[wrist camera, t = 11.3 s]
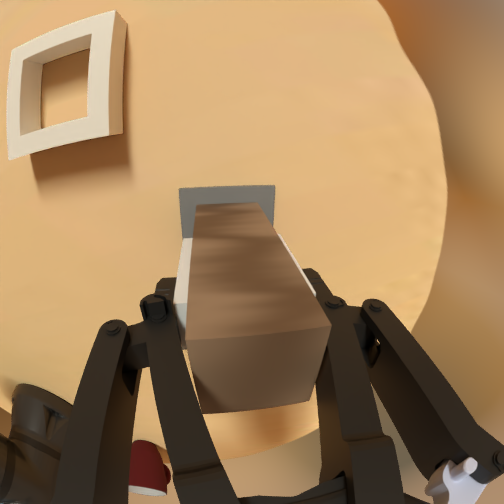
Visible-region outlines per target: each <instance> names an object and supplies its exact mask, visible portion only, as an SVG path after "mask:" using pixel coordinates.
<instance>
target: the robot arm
mask: <svg viewBox="0 0 504 504" xmlns="http://www.w3.org/2000/svg"><path fill="white" fill-rule="evenodd" d="M278 236H279V237H280V239H281V241H282V242H283V244H284V246H285V247H286V249H287V251H288V252H289V254H290V255H291V257H292V259H293V260H294V262H295V264H296V265H297V267H298V269H299V270H300V272H301V274H302V275H303V277H304V279H305V280H306V282H307V284H308V285H309V287H310V289H311V290H312V292H313V294H314V296H315V297H316V299H317V301H318V302H319V304H320V306H321V308H322V309H323V311H324V313H325V314H326V316H327V318H328V320H329V321H330V323H331V325H332V326H331V330H330V334H329V338H328V341H327V345H326V348H325V352H324V355H323V359H322V362H321V366H320V369H319V372H318V375H317V379H316V382H315V385H316V395H317V405H318V417H319V429H320V443H321V458H322V468H321V472H320V478H319V485H317V486H315V487H314V488H311V489H310V490H307V491H305V492H303V493H301V494H300V495H297V496H294V497H277V496H276V497H275V496H252V497H243V498H237V496H236V494H235V492H234V490H233V487H232V485H231V483H230V481H229V479H228V476H227V474H226V472H225V470H224V468H223V465H222V464H221V462H220V459H219V457H218V455H217V452H216V450H215V447H214V444H213V442H212V439H211V437H210V434H209V431H208V429H207V426H206V423H205V420H204V418H203V415H202V412H201V409H200V406H199V403H198V400H197V397H196V394H195V391H194V388H193V385H192V381H191V378H190V375H189V372H188V368H187V365H186V361H185V358H184V354H183V351H182V350H184V349H187V346H186V341H185V334H186V314H187V298H188V284H189V271H190V260H191V249H192V239H193V238H184V239H183V243H182V249H181V255H180V261H179V267H178V273H177V277H174V278H162V279H161V280H160V281H159V282H158V283H157V285H156V289H155V290H156V291H155V293H154V294H150V295H148V296H146V297H144V298H143V299H142V300H141V301H140V308H141V312H142V316H143V319H144V321H142V322H140V323H138V324H135V325H131V326H127V325H126V323H125V322H124V321H122V320H117V319H116V320H110V321H108V322H106V323H104V324H103V325H102V326H101V328H100V329H99V332H98V334H97V337H96V339H95V342H94V344H93V347H92V350H91V352H90V355H89V358H88V361H87V364H86V366H85V369H84V372H83V375H82V378H81V381H80V384H79V388H78V391H77V394H76V397H75V401H74V404H73V406H71V405H70V404H68V403H67V402H65V401H64V400H62V399H60V398H59V397H57V396H55V395H53V394H51V393H49V392H47V391H45V390H43V389H41V388H38V387H35V386H32V385H28V384H19V385H17V386H16V388H15V390H14V392H13V395H12V403H13V406H12V427H11V431H10V435H9V438H6V437H5V436H4V435H3V434H1V433H0V504H128V491H129V471H130V458H131V446H132V436H133V428H134V419H135V412H136V404H137V397H138V391H139V385H140V378H141V373H142V368H146V367H150V373H151V379H152V384H153V390H154V395H155V401H156V406H157V410H158V415H159V420H160V424H161V428H162V432H163V437H164V441H165V444H166V448H167V452H168V456H169V459H170V463H171V466H172V470H173V482H174V486H175V489H176V492H177V495H178V498H179V501H180V504H430V503H427V502H425V501H422V500H420V499H417V498H415V497H412V496H410V495H408V494H406V493H403V487H402V481H401V475H400V470H399V465H398V460H397V455H396V450H395V445H394V442H393V440H392V438H391V437H390V436H386V435H384V433H383V432H382V427H381V423H380V419H379V414H378V410H377V406H376V402H375V398H374V394H373V390H372V386H373V387H374V389H375V391H376V393H377V395H378V396H379V398H380V400H381V402H382V403H383V405H384V407H385V409H386V411H387V412H388V414H389V416H390V418H391V420H392V422H393V423H394V425H395V427H396V429H397V431H398V433H399V434H400V436H401V438H402V440H403V442H404V444H405V446H406V448H407V450H408V452H409V454H410V455H411V457H412V459H413V461H414V463H415V464H416V466H417V468H418V469H419V471H420V472H421V473H422V475H423V476H424V477H425V478H426V479H427V480H428V481H429V482H428V485H427V486H426V487H425V494H426V495H428V496H432V497H433V501H434V504H475V502H476V501H477V499H478V498H479V496H480V495H481V493H482V491H483V490H484V488H485V486H486V485H487V484H488V483H489V482H491V481H492V480H494V479H496V478H497V477H499V476H500V475H502V474H503V473H504V445H502V444H501V443H500V442H499V441H497V440H496V439H495V438H494V437H493V436H491V435H490V434H489V433H488V432H486V431H485V430H484V429H482V428H481V427H480V426H479V425H478V424H477V423H476V422H475V420H474V419H473V417H472V416H471V414H470V413H469V411H468V410H467V408H466V407H465V405H464V404H463V402H462V401H461V400H460V398H459V397H458V395H457V394H456V392H455V391H454V390H453V388H452V387H451V385H450V384H449V383H448V381H447V380H446V379H445V377H444V376H443V375H442V373H441V372H440V371H439V369H438V368H437V367H436V365H435V364H434V363H433V361H432V360H431V359H430V357H429V356H428V355H427V354H426V352H425V351H424V350H423V349H422V347H421V346H420V345H419V344H418V343H417V341H416V340H415V339H414V337H413V336H412V335H411V334H410V332H409V331H408V330H407V329H406V327H405V326H404V325H403V324H402V323H401V321H400V320H399V319H398V318H397V317H396V316H395V314H394V313H393V312H392V311H391V310H390V308H389V307H388V306H387V305H386V304H385V303H384V302H382V301H380V300H377V299H367V300H365V301H364V302H363V304H362V307H356V306H348V305H347V304H346V302H345V301H344V300H343V299H342V298H340V297H337V296H333V294H332V293H331V291H330V290H329V288H328V287H327V285H326V284H325V283H324V281H323V280H322V279H321V277H320V275H319V274H318V272H316V271H315V270H313V269H312V268H307V269H301V267H300V266H299V264H298V262H297V261H296V259H295V258H294V256H293V254H292V253H291V251H290V249H289V248H288V246H287V245H286V243H285V241H284V240H283V238H282V237H281V235H280V234H278ZM377 339H378V341H379V343H380V344H379V343H378V342H377ZM181 346H182V347H181ZM370 382H371V383H370ZM371 384H372V386H371Z"/></svg>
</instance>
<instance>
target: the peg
mask: <svg viewBox="0 0 504 504" xmlns="http://www.w3.org/2000/svg"><path fill="white" fill-rule="evenodd" d="M331 326H332V325H331V323H330V321H329V320H328V318H327V316H326V314H325V313H324V311H323V309H322V308H321V306H320V304H319V302H318V301H317V299H316V297H315V296H314V294H313V292H312V290H311V289H310V287H309V285H308V284H307V282H306V280H305V279H304V277H303V275H302V274H301V272H300V270H299V269H298V267H297V265H296V264H295V262H294V260H293V259H292V257H291V255H290V254H289V252H288V251H287V249H286V247H285V246H284V244H283V242H282V241H281V239H280V237H279V236H278V234H277V233H276V231H275V229H274V228H273V226H272V225H271V223H270V221H269V220H268V218H267V217H266V215H265V213H264V212H263V210H262V209H261V207H260V205H259V204H258V202H249V203H221V204H200V205H196V212H195V221H194V230H193V239H192V249H191V260H190V271H189V284H188V298H187V314H186V334H185V341H186V346H187V351H188V356H189V361H190V365H191V370H192V374H193V378H194V383H195V387H196V391H197V395H198V399H199V403H200V407H201V411H202V414H213V413H228V412H239V411H248V410H257V409H265V408H272V407H278V406H284V405H290V404H296V403H301V402H306V401H309V400H310V397H311V394H312V391H313V388H314V385H315V382H316V379H317V375H318V372H319V369H320V366H321V362H322V359H323V355H324V352H325V348H326V345H327V341H328V338H329V334H330V330H331Z"/></svg>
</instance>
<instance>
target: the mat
mask: <svg viewBox="0 0 504 504" xmlns="http://www.w3.org/2000/svg"><path fill="white" fill-rule="evenodd" d="M179 199H180V213H181V225H182V237H183V239H184V238H193V230H194V221H195V212H196V205H200V204H221V203H249V202H258V204H259V205H260V207H261V209H262V210H263V212H264V213H265V215H266V217H267V218H268V220H269V221H270V223H271V225H272V226H273V221H274V200H275V186H274V185H253V186H217V187H196V188H179Z"/></svg>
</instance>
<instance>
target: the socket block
mask: <svg viewBox="0 0 504 504" xmlns="http://www.w3.org/2000/svg"><path fill="white" fill-rule="evenodd" d="M126 30H127V22H126V21H125V20H124V19H123V18H122V17H121V15H120V14H119V13H118V12H117V11H116V10H113V11H109V12H105V13H102V14H98V15H95V16H91V17H88V18H85V19H82V20H79V21H76V22H73V23H70V24H67V25H65V26H62V27H60V28H57V29H55V30H52V31H50V32H47V33H45V34H43V35H41V36H38V37H36V38H34V39H32V40H30V41H28V42H26V43H24V44H22V45H20V46H18V47H16V48H15V49H13V50H12V52H11V59H10V67H9V76H8V88H7V146H8V158H9V160H12V159H15V158H18V157H21V156H25V155H28V154H31V153H35V152H38V151H42V150H45V149H49V148H53V147H57V146H61V145H65V144H69V143H74V142H78V141H83V140H88V139H93V138H98V137H104V136H110V135H116V134H122V133H123V67H124V52H125V40H126ZM89 48H90V56H89V70H88V96H87V114H88V117H84V118H79V119H75V120H71V121H67V122H64V123H60V124H56V125H53V126H50V127H46V128H43V129H41V81H42V68H43V64H45V63H48V62H50V61H53V60H55V59H58V58H61V57H64V56H67V55H70V54H73V53H76V52H79V51H82V50H85V49H89Z"/></svg>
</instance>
